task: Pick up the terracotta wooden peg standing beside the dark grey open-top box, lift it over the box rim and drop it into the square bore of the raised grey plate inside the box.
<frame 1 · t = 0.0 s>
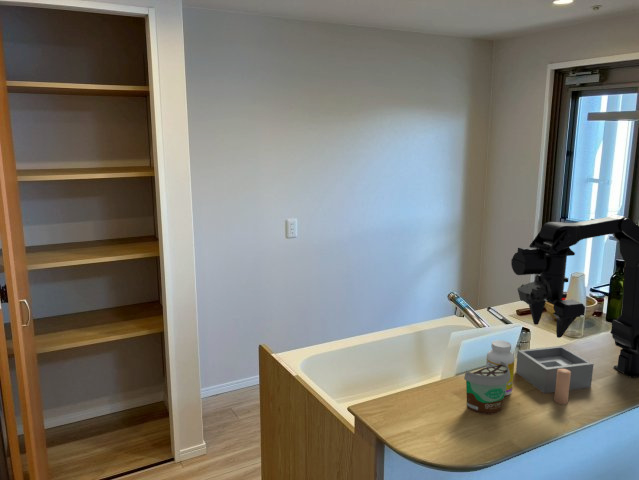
hand: (547, 330, 134), 15 cm above the counter, tool pointing down, fingers open, 9 cm apart
bore box: (552, 379, 138), on the counter
food container: (490, 410, 123), on the counter
peg: (560, 401, 127), on the counter
supplement bottle: (498, 391, 133), on the counter
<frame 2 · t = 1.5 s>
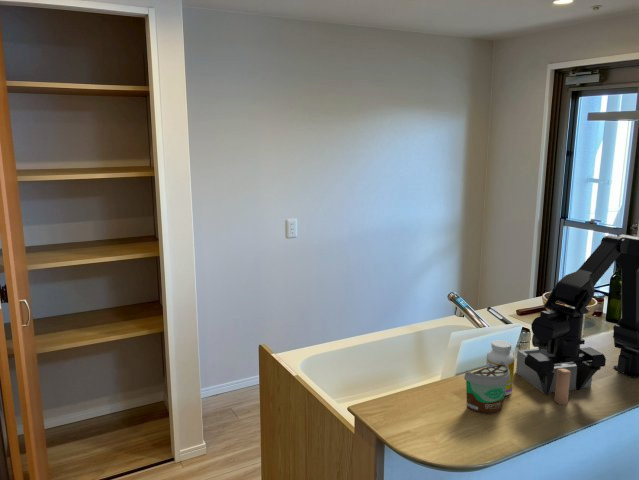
hand: (561, 392, 127), 2 cm above the counter, tool pointing down, fingers open, 9 cm apart
nothing on the counter moved.
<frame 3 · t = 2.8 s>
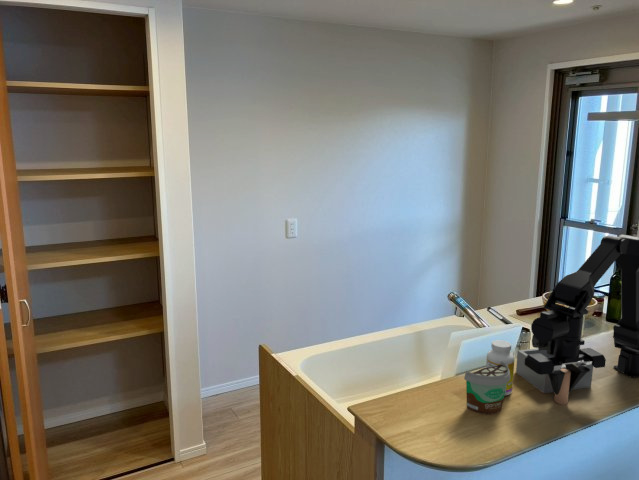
hand: (561, 392, 127), 2 cm above the counter, tool pointing down, fingers closed on peg, 3 cm apart
peg: (560, 401, 127), on the counter, touching gripper
everything else where it was.
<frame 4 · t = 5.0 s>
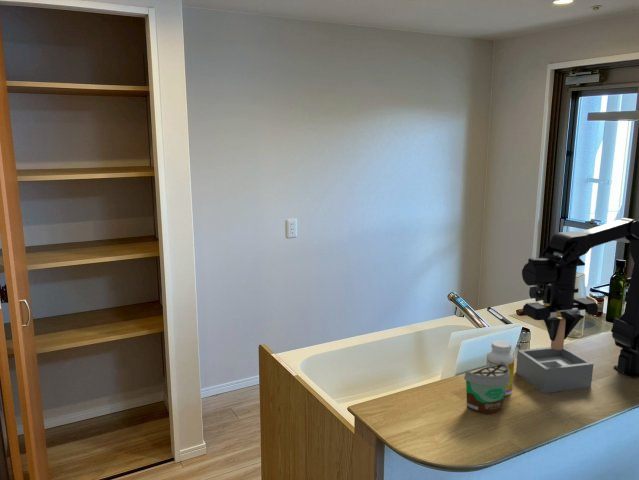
hand: (557, 339, 135), 12 cm above the counter, tool pointing down, fingers closed on peg, 3 cm apart
peg: (556, 347, 135), point 10 cm above the counter, touching gripper
everything else where it was.
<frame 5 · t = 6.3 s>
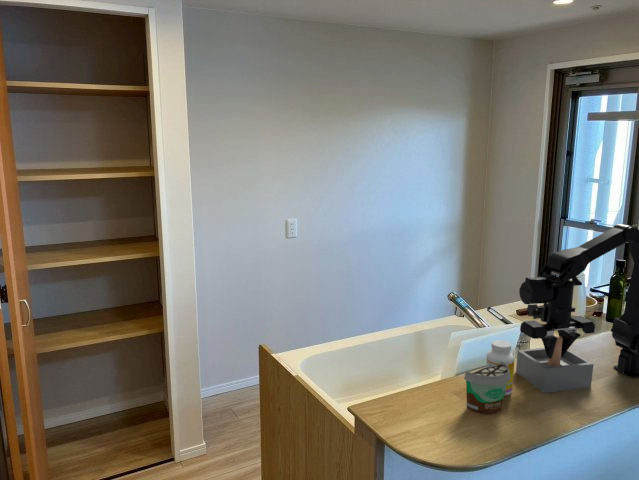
hand: (554, 357, 137), 6 cm above the counter, tool pointing down, fingers closed on peg, 3 cm apart
peg: (553, 365, 138), point 4 cm above the counter, touching gripper
everything else where it was.
when the fingers open (5 cm above the counter, at t = 7.2 s): peg drops 2 cm, resting on bore box.
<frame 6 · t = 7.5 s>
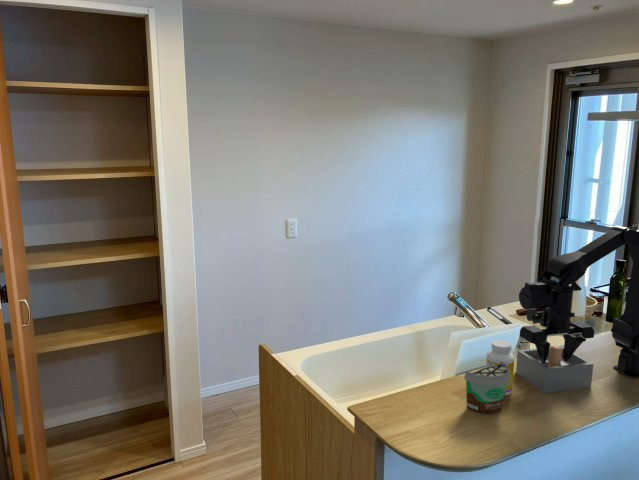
hand: (554, 362, 137), 5 cm above the counter, tool pointing down, fingers open, 7 cm apart
peg: (552, 375, 138), point 1 cm above the counter, touching bore box
everything else where it was.
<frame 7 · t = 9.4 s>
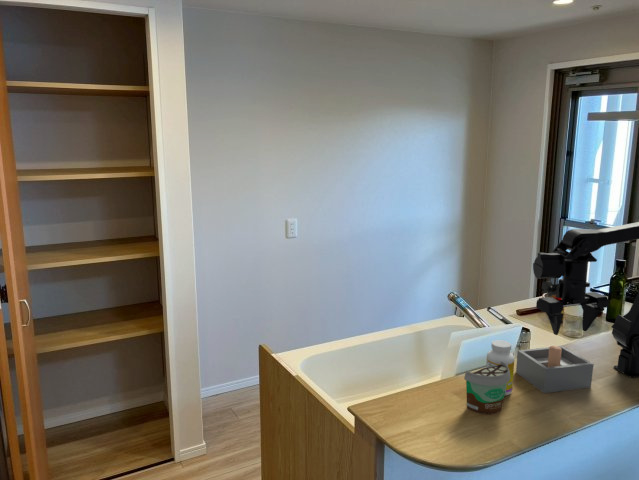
hand: (570, 332, 140), 12 cm above the counter, tool pointing down, fingers open, 9 cm apart
nothing on the counter moved.
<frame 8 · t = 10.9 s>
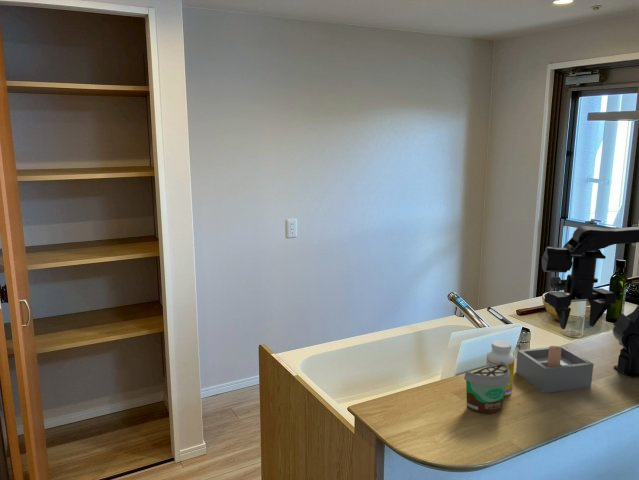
hand: (577, 327, 143), 12 cm above the counter, tool pointing down, fingers open, 9 cm apart
nothing on the counter moved.
at the end: peg 0.0 cm off-centre on the bore box, point 1.0 cm above the bore box's base; peg tilted 1°; the gripper is holding nothing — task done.
